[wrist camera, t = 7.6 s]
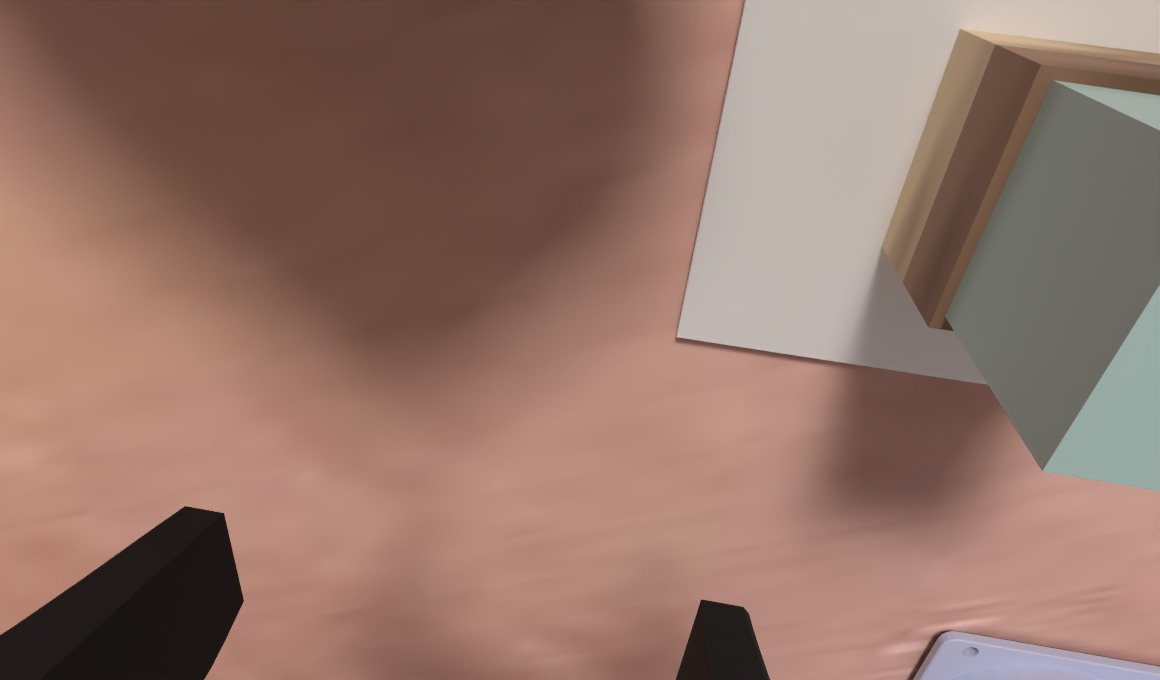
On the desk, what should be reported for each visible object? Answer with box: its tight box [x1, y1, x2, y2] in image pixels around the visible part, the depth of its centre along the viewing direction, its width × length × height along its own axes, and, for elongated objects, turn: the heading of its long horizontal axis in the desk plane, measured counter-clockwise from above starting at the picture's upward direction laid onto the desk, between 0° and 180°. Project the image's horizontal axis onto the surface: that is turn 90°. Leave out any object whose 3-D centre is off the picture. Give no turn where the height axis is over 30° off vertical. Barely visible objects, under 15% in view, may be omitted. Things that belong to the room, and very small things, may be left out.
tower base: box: [882, 29, 1160, 282], centre depth 15 cm, size 5×5×2 cm
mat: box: [677, 0, 1160, 385], centre depth 16 cm, size 14×12×1 cm
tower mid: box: [903, 44, 1160, 331], centre depth 13 cm, size 5×5×2 cm
